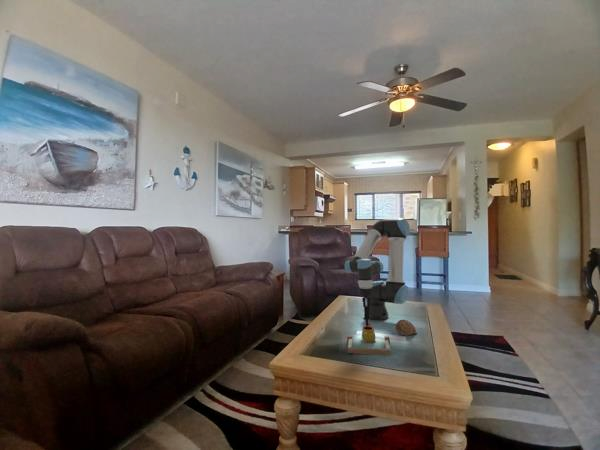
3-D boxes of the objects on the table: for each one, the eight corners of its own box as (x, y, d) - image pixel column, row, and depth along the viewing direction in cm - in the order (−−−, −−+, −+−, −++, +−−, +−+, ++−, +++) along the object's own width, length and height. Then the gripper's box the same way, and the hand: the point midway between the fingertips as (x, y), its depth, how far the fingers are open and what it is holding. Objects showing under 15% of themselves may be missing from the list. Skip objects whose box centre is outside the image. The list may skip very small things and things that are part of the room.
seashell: (420, 335, 157) (409, 319, 158) (405, 344, 158) (394, 327, 159) (416, 329, 167) (405, 313, 168) (402, 337, 169) (391, 321, 170)
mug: (376, 343, 151) (376, 329, 151) (363, 343, 151) (362, 330, 151) (372, 335, 163) (372, 322, 163) (359, 335, 163) (359, 322, 163)
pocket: (347, 341, 154) (347, 335, 154) (389, 343, 150) (389, 336, 150) (345, 353, 139) (345, 346, 139) (392, 355, 135) (392, 348, 135)
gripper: (358, 285, 171) (360, 327, 171) (358, 289, 159) (360, 334, 158) (372, 285, 170) (374, 327, 169) (372, 289, 157) (374, 335, 156)
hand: (367, 331), depth 163 cm, fingers closed
